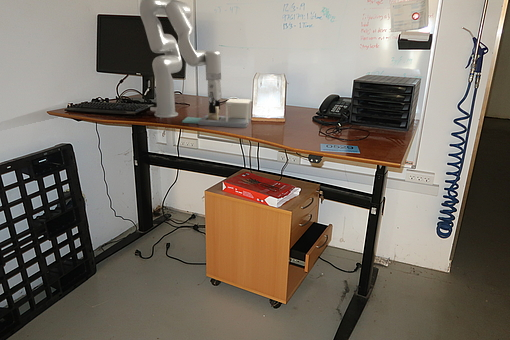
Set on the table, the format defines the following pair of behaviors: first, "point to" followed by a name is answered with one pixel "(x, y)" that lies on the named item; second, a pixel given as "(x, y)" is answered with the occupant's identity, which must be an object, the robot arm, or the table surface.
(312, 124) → the table surface
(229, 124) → the puzzle board
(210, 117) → the maple block
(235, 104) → the sliding cover
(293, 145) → the table surface
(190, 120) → the teal mat
